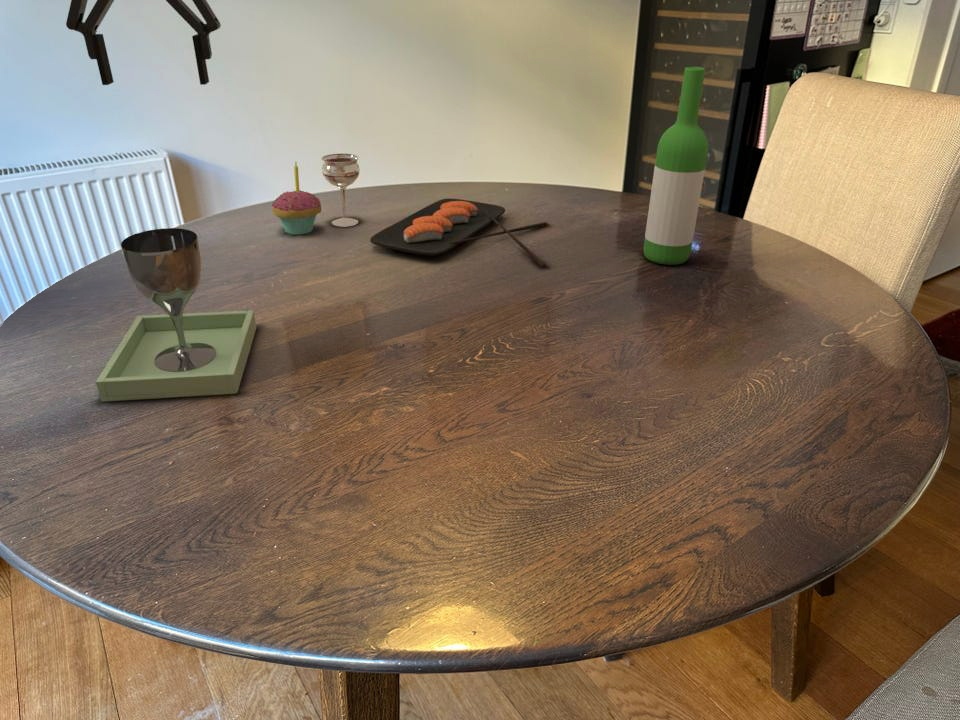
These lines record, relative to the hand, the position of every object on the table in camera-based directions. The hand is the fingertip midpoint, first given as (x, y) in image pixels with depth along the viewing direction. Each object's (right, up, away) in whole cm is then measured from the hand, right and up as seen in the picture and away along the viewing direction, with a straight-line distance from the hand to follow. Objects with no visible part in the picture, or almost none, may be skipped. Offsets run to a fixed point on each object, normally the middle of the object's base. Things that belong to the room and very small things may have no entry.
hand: (157, 83), depth 104 cm
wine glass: (+12, -41, -18) cm, 46 cm away
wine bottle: (+79, -24, +15) cm, 84 cm away
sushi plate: (+48, -20, +21) cm, 56 cm away
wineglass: (+22, -15, +29) cm, 39 cm away
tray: (+12, -41, -18) cm, 46 cm away
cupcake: (+15, -17, +24) cm, 33 cm away
